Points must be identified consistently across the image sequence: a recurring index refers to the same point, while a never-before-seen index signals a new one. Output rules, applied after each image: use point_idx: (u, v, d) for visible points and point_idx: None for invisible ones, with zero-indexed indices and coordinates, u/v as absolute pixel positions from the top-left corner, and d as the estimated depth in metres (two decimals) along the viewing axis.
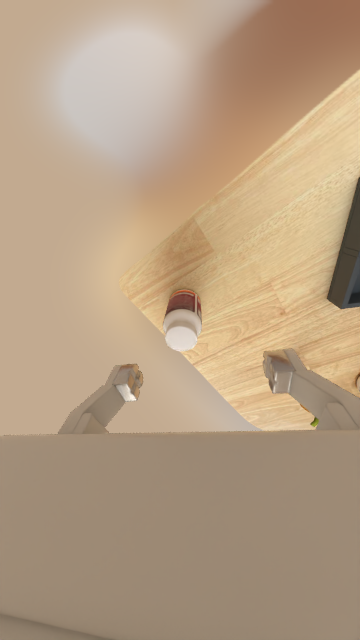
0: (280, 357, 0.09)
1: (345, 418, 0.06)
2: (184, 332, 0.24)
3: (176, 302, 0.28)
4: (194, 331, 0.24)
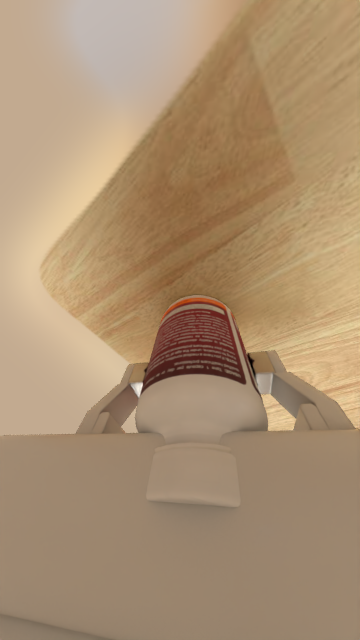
0: (262, 359, 0.09)
1: (317, 419, 0.06)
2: None
3: (178, 339, 0.09)
4: None
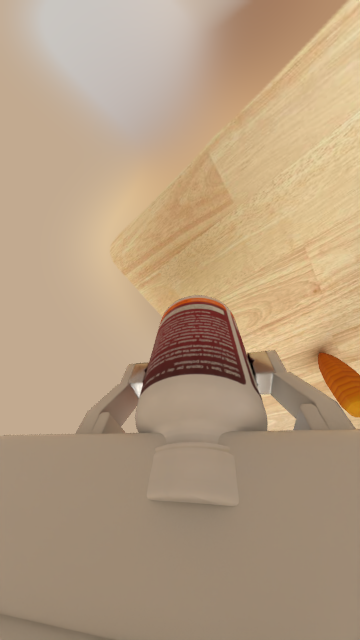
0: (262, 359, 0.09)
1: (317, 419, 0.06)
2: None
3: (178, 340, 0.09)
4: None
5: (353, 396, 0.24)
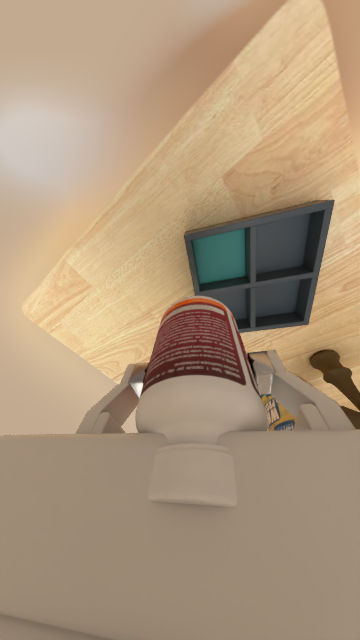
0: (262, 359, 0.09)
1: (317, 419, 0.06)
2: None
3: (178, 340, 0.09)
4: None
5: None
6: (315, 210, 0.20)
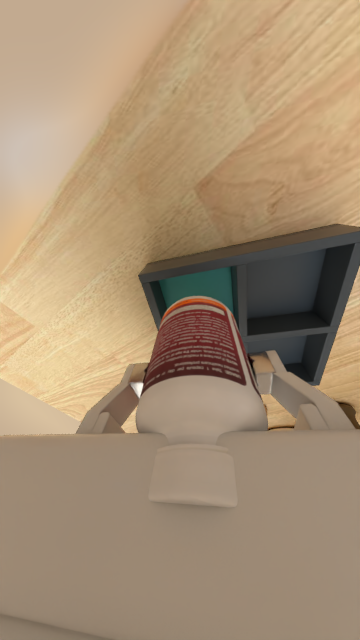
0: (262, 359, 0.09)
1: (317, 419, 0.06)
2: None
3: (178, 340, 0.09)
4: None
5: None
6: (339, 244, 0.13)
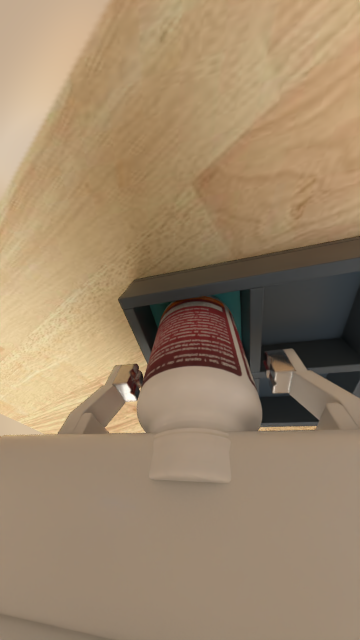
0: (280, 357, 0.09)
1: (345, 418, 0.06)
2: None
3: (177, 335, 0.09)
4: None
5: None
6: None
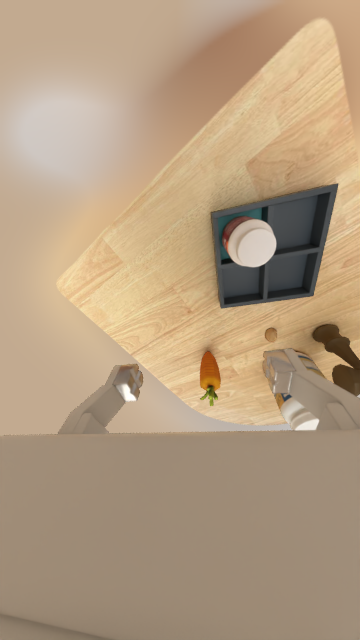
0: (280, 357, 0.09)
1: (345, 418, 0.06)
2: (263, 236, 0.21)
3: (242, 219, 0.25)
4: (274, 236, 0.21)
5: (202, 378, 0.39)
6: (322, 192, 0.25)
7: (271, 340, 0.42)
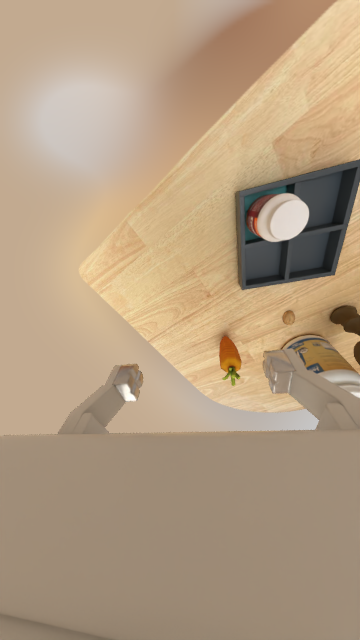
0: (280, 357, 0.09)
1: (345, 418, 0.06)
2: (297, 208, 0.22)
3: (270, 196, 0.26)
4: (307, 207, 0.22)
5: (223, 359, 0.40)
6: (349, 167, 0.25)
7: (289, 323, 0.43)
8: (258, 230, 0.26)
